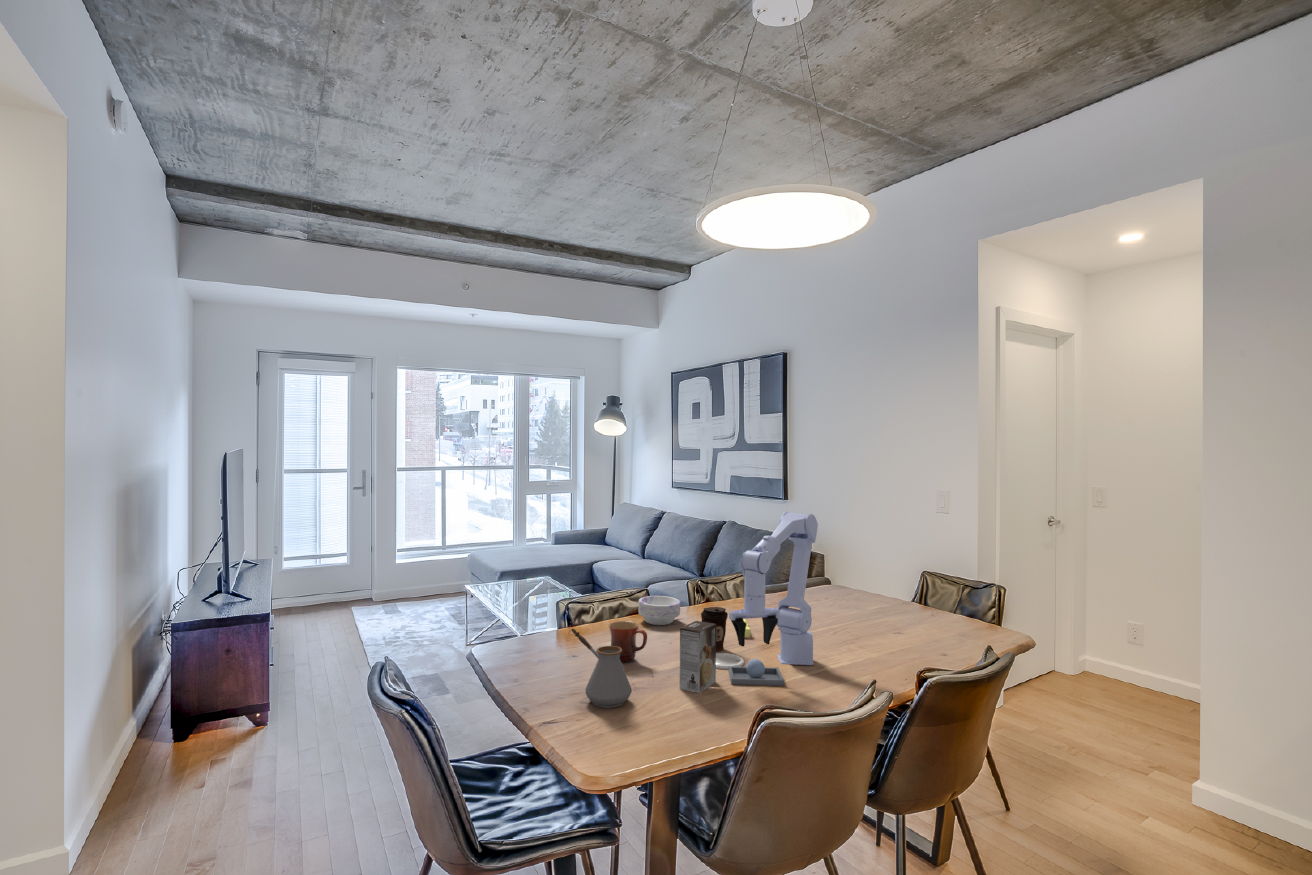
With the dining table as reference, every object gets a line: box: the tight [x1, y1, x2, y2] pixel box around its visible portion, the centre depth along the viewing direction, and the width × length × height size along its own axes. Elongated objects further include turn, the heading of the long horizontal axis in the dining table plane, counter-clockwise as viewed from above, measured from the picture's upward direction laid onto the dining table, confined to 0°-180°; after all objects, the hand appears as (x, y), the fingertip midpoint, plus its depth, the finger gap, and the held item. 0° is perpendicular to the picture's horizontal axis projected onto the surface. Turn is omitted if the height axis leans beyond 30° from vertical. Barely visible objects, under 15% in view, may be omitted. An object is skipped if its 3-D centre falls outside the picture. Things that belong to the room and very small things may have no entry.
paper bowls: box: [638, 595, 681, 626], centre depth 236 cm, size 15×15×8 cm
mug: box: [608, 620, 648, 664], centre depth 192 cm, size 12×9×10 cm
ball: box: [745, 658, 765, 678], centre depth 178 cm, size 5×5×5 cm
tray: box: [727, 666, 785, 687], centre depth 178 cm, size 14×10×2 cm
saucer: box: [716, 652, 745, 670], centre depth 191 cm, size 12×12×1 cm
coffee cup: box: [700, 606, 729, 653], centre depth 203 cm, size 9×8×13 cm
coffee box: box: [679, 620, 717, 694], centre depth 173 cm, size 9×6×16 cm
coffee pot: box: [568, 628, 633, 709], centre depth 165 cm, size 21×12×15 cm, turn 45°
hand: (754, 644), depth 179 cm, fingers open, 7 cm apart
